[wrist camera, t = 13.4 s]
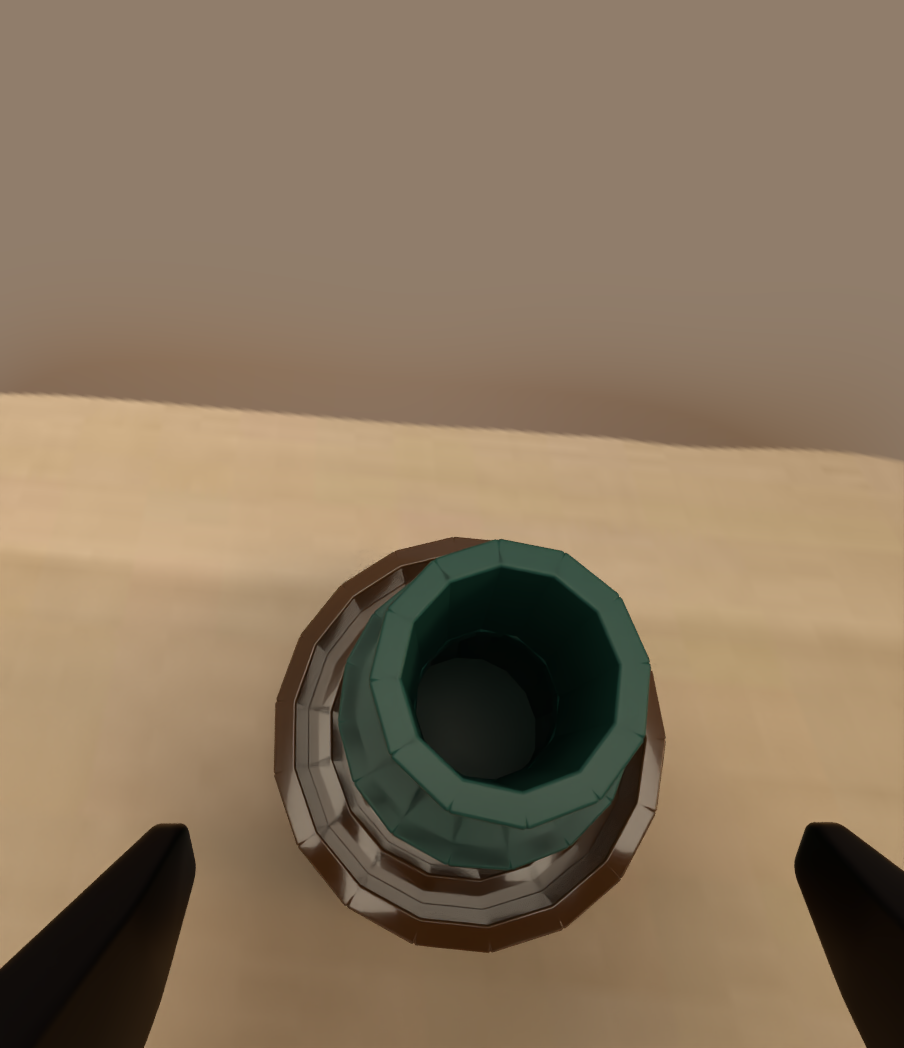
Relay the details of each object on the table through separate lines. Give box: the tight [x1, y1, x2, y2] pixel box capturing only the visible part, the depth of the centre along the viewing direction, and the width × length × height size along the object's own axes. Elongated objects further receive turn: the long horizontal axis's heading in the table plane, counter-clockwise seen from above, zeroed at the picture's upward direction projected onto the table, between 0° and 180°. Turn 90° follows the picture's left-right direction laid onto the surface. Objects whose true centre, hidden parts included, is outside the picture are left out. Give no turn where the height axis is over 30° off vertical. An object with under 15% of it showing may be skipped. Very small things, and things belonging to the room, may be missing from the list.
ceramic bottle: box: [338, 539, 651, 870], centre depth 14 cm, size 5×5×14 cm
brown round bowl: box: [274, 537, 666, 953], centre depth 19 cm, size 11×11×4 cm
